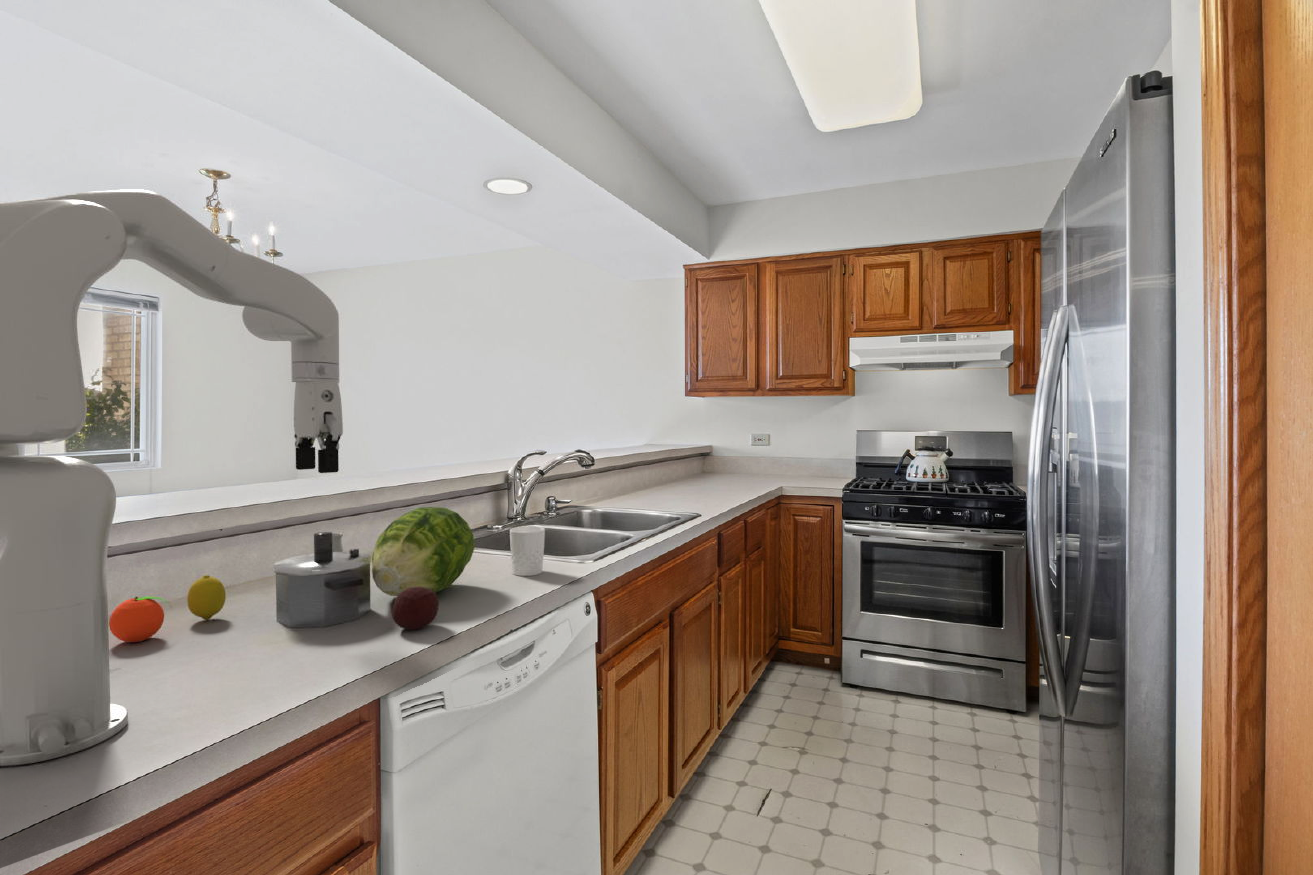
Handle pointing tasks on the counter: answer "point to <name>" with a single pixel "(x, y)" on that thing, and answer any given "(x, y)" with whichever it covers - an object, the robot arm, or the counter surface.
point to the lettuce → (422, 551)
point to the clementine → (137, 619)
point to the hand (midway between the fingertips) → (316, 470)
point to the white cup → (527, 550)
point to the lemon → (206, 597)
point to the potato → (415, 608)
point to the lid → (322, 560)
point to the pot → (322, 598)
